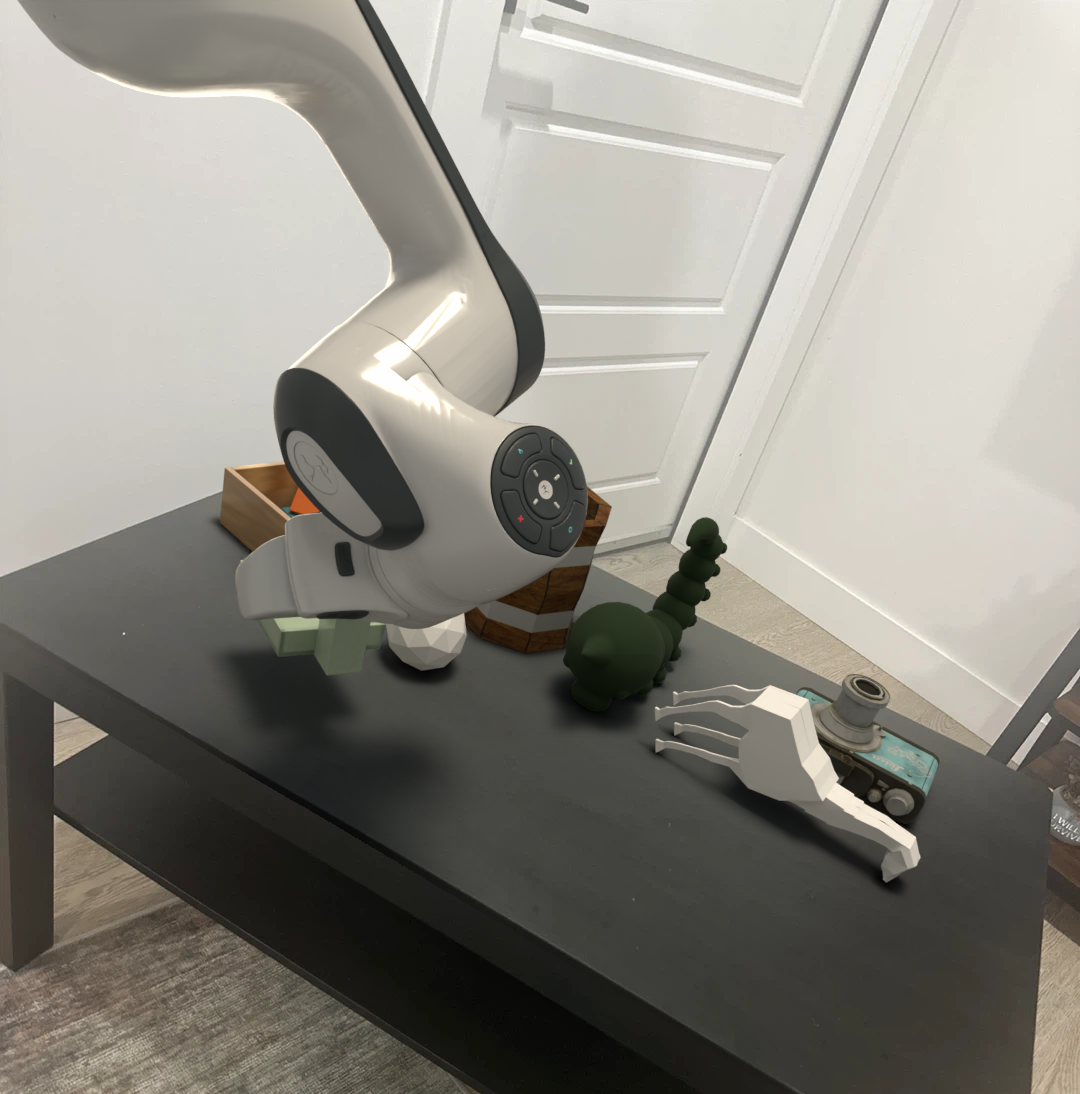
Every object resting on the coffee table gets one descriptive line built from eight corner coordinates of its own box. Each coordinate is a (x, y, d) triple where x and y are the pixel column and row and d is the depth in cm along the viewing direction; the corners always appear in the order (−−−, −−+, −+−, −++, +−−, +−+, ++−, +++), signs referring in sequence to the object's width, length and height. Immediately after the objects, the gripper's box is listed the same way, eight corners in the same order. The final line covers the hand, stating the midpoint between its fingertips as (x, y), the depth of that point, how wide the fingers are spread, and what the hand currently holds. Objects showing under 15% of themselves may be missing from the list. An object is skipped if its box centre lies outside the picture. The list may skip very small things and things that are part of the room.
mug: (593, 628, 112) (636, 511, 103) (531, 669, 101) (572, 542, 93) (459, 550, 118) (489, 433, 109) (387, 581, 107) (414, 454, 99)
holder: (283, 580, 102) (291, 524, 98) (219, 522, 108) (224, 467, 104) (378, 560, 110) (388, 508, 107) (314, 508, 116) (321, 456, 112)
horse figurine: (655, 834, 100) (909, 900, 87) (653, 686, 93) (928, 734, 80) (676, 812, 103) (922, 872, 91) (675, 668, 96) (941, 712, 84)
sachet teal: (305, 504, 113) (304, 510, 114) (281, 507, 111) (280, 513, 112) (324, 521, 111) (323, 527, 112) (299, 524, 109) (298, 530, 110)
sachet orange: (328, 486, 111) (329, 489, 111) (301, 477, 111) (303, 480, 111) (316, 519, 110) (317, 521, 111) (289, 509, 110) (290, 512, 111)
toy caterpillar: (626, 640, 115) (515, 702, 95) (689, 492, 105) (580, 526, 85) (694, 680, 112) (594, 752, 92) (766, 531, 103) (671, 576, 82)
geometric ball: (403, 670, 100) (413, 593, 100) (474, 678, 97) (484, 598, 97) (365, 662, 93) (376, 579, 93) (441, 670, 90) (452, 584, 90)
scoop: (394, 669, 82) (417, 565, 76) (290, 679, 77) (306, 569, 71) (334, 580, 90) (350, 481, 85) (237, 584, 86) (247, 479, 80)
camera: (970, 719, 99) (955, 762, 91) (924, 788, 104) (905, 834, 96) (822, 643, 103) (795, 678, 95) (785, 713, 109) (757, 752, 101)
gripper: (540, 514, 72) (453, 560, 83) (265, 515, 60) (209, 568, 72) (553, 598, 71) (465, 632, 83) (281, 615, 60) (222, 652, 72)
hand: (344, 603), depth 77 cm, fingers closed on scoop, 3 cm apart
